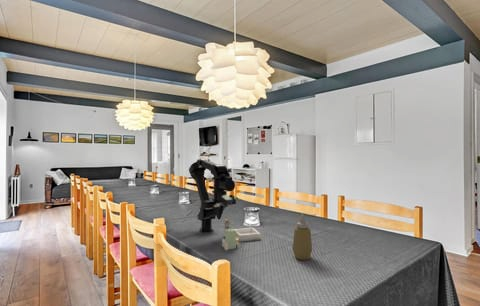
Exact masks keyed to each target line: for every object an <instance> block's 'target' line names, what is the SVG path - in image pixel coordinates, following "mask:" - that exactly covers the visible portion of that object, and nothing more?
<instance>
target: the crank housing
mask: <svg viewBox="0 0 480 306" xmlns="http://www.w3.org/2000/svg"><path fill="white" fill-rule="evenodd" d="M238 240H239V238H238ZM221 246H222V248H224V250H225V251H229V249H228V243H227V242H226V240H225V238H224V239H223V238H222V241H221Z"/></svg>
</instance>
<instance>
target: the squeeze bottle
mask: <svg viewBox="0 0 480 306" xmlns="http://www.w3.org/2000/svg"><path fill="white" fill-rule="evenodd" d="M293 231H294V232H293V238H292V239H293V240H292V251H293V255H294V257H295V258H296V259H298V260H303V261H307V260H309V259H310V257H311V254H312V252H313V243H312V242H313V241H312V233H311V232H312V230H311V228H309V223H308V222H307V221H306V217H305V214H304V213H301V214H300V218H299V221H298V222H297V223H296V227H295V228H294V230H293Z"/></svg>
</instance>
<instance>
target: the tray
mask: <svg viewBox="0 0 480 306" xmlns="http://www.w3.org/2000/svg"><path fill="white" fill-rule="evenodd" d="M234 229H235V230H236V237H237V238H239V243H241V242H250V241H261V238H262V235H261V234H262V233H260V232H259V231H258V230H256V229H255V228H254V227H245V228H243V227H242V228H234Z"/></svg>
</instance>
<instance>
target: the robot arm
mask: <svg viewBox="0 0 480 306" xmlns="http://www.w3.org/2000/svg"><path fill="white" fill-rule="evenodd" d="M206 170H208V171H210V174H211V175H212V176H213V177H212V178H211V180H213V190H211V192H212V194H213V198H212V199H211V200H210V196H209V193H208V190H207V187H206V183H205V179H204V177H205V174H206V173H205V172H206ZM188 172H189V175H190V177H191V178H192V179H193V180H194V181H195V185H196V188H197V189H196V190H197V193H198V196H199V199H200V205H199V206H200V207H199V212H198V214H197V220H199V221H200V222H201V224H200V225H201V226H200V228H199V230H200V232H201V233H207V232H214V229H213V227H212V226H213V224H212V221H213V220H214V219H215V220H216V219H217V220H221V218H222V215H223V214H224V213H223V212H224V210H225V209H226V208H227V207H228V206H231V205H236V204H237V200H236V197H235V195H234V194H228V193H227V192H232V191H234V190H235V188H236V183H235V180H233V177H232V176H231V174H230V172H229V170H228V168H227V165H226V164H222V163H220V164H219V163H214V162H213V161H210V160H208V159H207V158H198V159H197V160H196V161H195V162H193V163H192V164H191V165H190V166H189V167H188Z"/></svg>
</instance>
